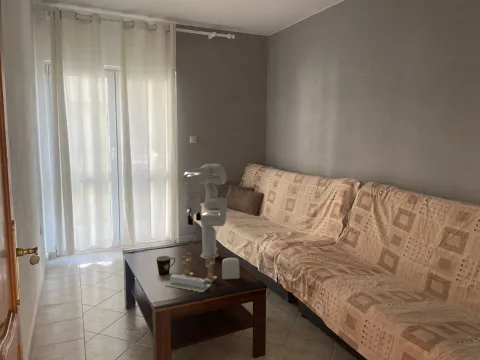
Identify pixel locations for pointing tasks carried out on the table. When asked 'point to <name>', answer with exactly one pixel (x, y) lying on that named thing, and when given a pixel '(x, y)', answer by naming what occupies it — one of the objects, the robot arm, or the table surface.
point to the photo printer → (230, 268)
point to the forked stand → (207, 263)
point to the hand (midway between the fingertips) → (194, 222)
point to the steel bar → (188, 281)
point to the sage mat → (188, 287)
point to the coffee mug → (164, 265)
